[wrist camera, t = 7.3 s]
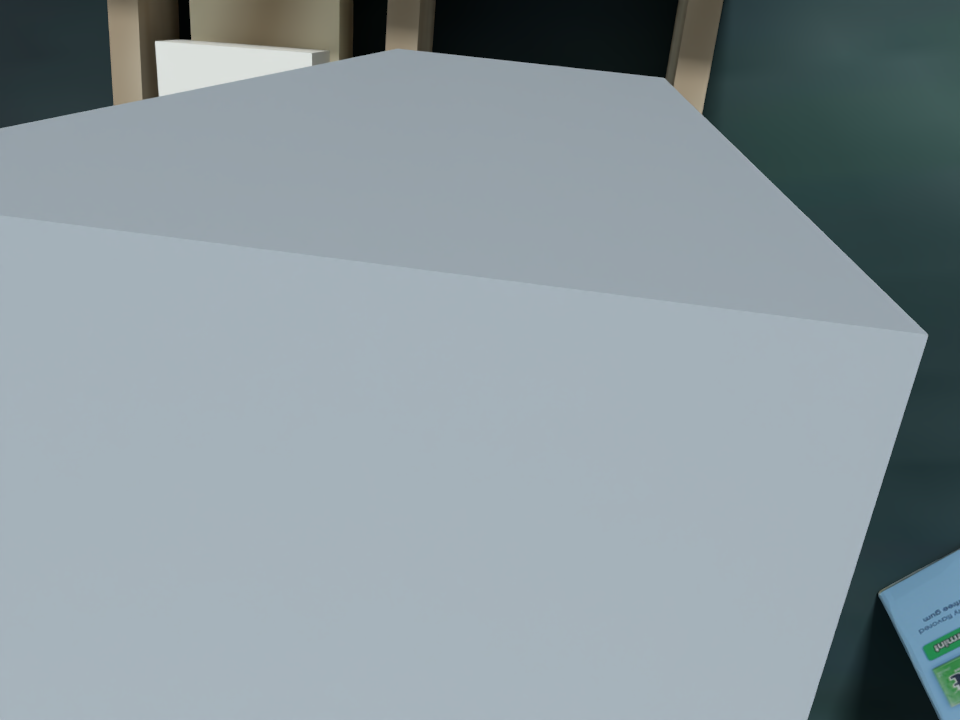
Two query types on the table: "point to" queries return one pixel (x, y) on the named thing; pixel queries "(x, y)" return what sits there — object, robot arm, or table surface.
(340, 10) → the block
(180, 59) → the offcut top
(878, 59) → the table surface
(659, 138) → the grey sheet
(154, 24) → the offcut rack
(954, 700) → the gum box
